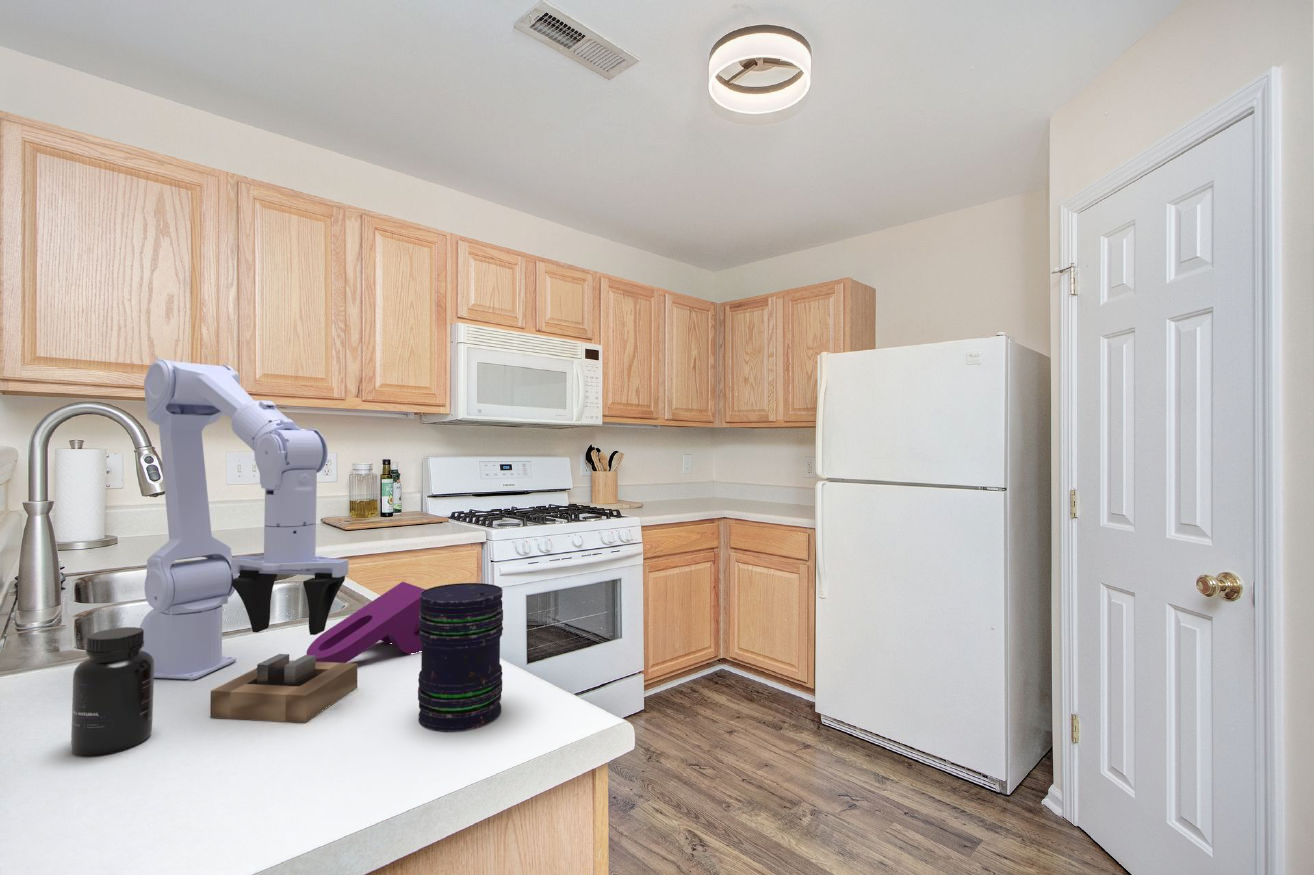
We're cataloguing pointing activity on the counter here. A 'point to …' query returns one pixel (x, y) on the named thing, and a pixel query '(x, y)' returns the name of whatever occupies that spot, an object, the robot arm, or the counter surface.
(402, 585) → the mounting bracket
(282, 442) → the robot arm
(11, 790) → the counter surface
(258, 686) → the well block
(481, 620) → the dark blue ribbed cylinder
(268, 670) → the bracket
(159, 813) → the counter surface
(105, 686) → the supplement bottle
